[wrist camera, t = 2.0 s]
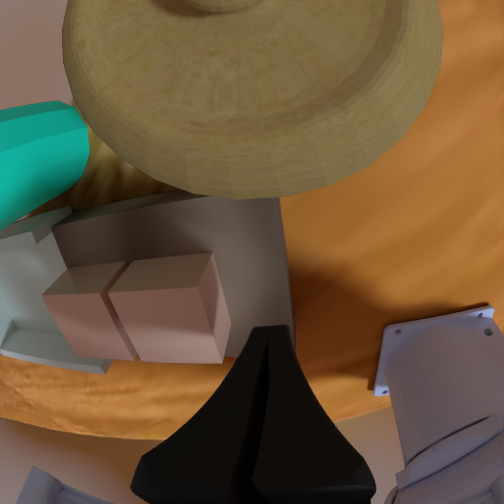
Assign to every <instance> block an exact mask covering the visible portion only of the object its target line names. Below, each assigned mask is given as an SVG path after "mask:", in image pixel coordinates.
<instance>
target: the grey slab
mask: <svg viewBox="0 0 504 504" xmlns="http://www.w3.org/2000/svg"><path fill="white" fill-rule="evenodd" d="M51 230H52V233H53V235H54V238H55V240H56V243H57V246H58V248H59V251H60V253H61V255H62V258H63V260H64V263H65V265H66V267H67V269H68V268H72V267H81V266H90V265H99V264H108V263H117V262H126V264H127V267H128V266H129V265H130V264H131V263H132V261H135V260H144V259H153V258H162V257H171V256H181V255H190V254H199V253H208V252H213V255H214V259H215V263H216V267H217V271H218V274H219V278H220V282H221V286H222V290H223V294H224V298H225V302H226V305H227V309H228V313H229V317H230V320H231V328H230V332H229V336H228V341H227V345H226V350H225V354H224V357H238V356H239V355H240V353H241V351H242V349H243V347H244V345H245V343H246V341H247V339H248V337H249V335H250V333H251V330H252V329H253V328H254V327H259V326H273V325H285V324H286V325H288V326H289V327H290V336H291V342H292V345H293V349H294V352H295V354H296V335H295V320H294V311H293V302H292V293H291V285H290V276H289V268H288V260H287V252H286V244H285V237H284V229H283V222H282V214H281V207H280V200H279V197H274V198H256V199H240V200H236V199H229V198H222V197H215V196H208V195H200V194H193V193H190V192H188V191H185V190H182V189H178V190H173V191H168V192H162V193H157V194H152V195H147V196H142V197H137V198H133V199H128V200H123V201H119V202H114V203H110V204H105V205H101V206H97V207H93V208H88V209H84V210H80V211H76V212H72V213H71V214H69V215H68V216H66V217H65V218H63V219H62V220H61V221H59V222H58V223H56V224H55V225H53V226H52V227H51ZM137 356H139V355H138V354H137Z"/></svg>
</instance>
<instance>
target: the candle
mask: <svg viewBox="0 0 504 504" xmlns="http://www.w3.org/2000/svg"><path fill="white" fill-rule="evenodd" d="M89 153H90V150H89V142H88V133H87V126H86V125H85V123H84V122H83V120H82V118H81V117H80V115H79V113H78V112H77V110H76V108H75V107H72V106H70V105H68V104H65V103H63V102H61V101H51V102H43V103H36V104H30V105H24V106H19V107H13V108H8V109H4V110H0V231H2V230H3V229H5V228H6V227H8V226H9V225H11V224H12V223H14V222H15V221H17V220H18V219H20V218H22V217H23V216H25V215H26V214H28V213H30V212H31V211H33V210H34V209H36V208H38V207H39V206H41V205H43V204H44V203H46V202H48V201H50V200H51V199H53V198H55V197H57V196H58V195H60V194H62V193H64V192H66V191H67V190H69V189H70V188H71V187H72V186H73V185H74V184H75V183H76V182H77V181H78V180H79V179H80V178H81V177H82V176H83V174H84V171H85V167H86V164H87V160H88V157H89Z"/></svg>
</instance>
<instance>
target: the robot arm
mask: <svg viewBox="0 0 504 504" xmlns="http://www.w3.org/2000/svg"><path fill="white" fill-rule="evenodd" d="M493 314H494V308H493V306H491V305H489V306H485V307H480V308H476V309H471V310H467V311H462V312H458V313H453V314H448V315H443V316H438V317H432V318H427V319H421V320H416V321H410V322H404V323H397V324H391V325H388V326H387V327H386V328H385V329H384V331H383V338H382V345H381V351H380V357H379V363H378V369H377V374H376V379H375V384H374V389H373V393H374V396H383V395H390V399H391V403H392V407H393V412H394V416H395V420H396V425H397V429H398V434H399V439H400V444H401V449H402V454H403V460H404V465H405V469H404V470H402V471H400V472H398V473H396V474H395V475H396V480H397V481H396V482H397V486H396V487H394V488H393V489H392V490H391V491H390V493H389V494H388V496H387V498H386V500H385V503H384V504H504V335H503V334H502V332H501V331H500V329H499V328H498V326H497V325H496V323H495V322H494V320H493V319H492V316H493ZM398 329H400V330H398ZM396 330H398V331H396ZM130 488H131V490H132V492H133V493H134V494H135V495H137V496H138V497H140V498H141V499H143V500H145V501H146V502H148V503H149V504H371V501H370V500H371V498H372V497H373V496H374V494H375V493H376V484H375V480H374V478H373V475H372V473H371V471H370V469H369V467H368V465H367V463H366V461H365V459H364V458H363V457H362V456H361V455H360V454H359V453H358V452H357V451H356V449H355V448H353V446H352V445H351V444H350V443H349V442H348V441H347V439H346V438H345V437H344V436H343V435H342V434H341V432H340V431H339V430H338V429H337V427H336V426H335V425H334V423H333V422H332V420H331V419H330V418H329V416H328V415H327V414H326V412H325V411H324V409H323V408H322V406H321V405H320V403H319V402H318V400H317V398H316V396H315V395H314V393H313V391H312V390H311V388H310V386H309V384H308V382H307V380H306V378H305V376H304V374H303V372H302V369H301V367H300V365H299V362H298V360H297V357H296V355H295V352H294V349H293V345H292V342H291V336H290V327H289V326H288V325H286V324H285V325H273V326H259V327H254V328H253V329H252V330H251V333H250V335H249V337H248V339H247V341H246V343H245V345H244V347H243V349H242V351H241V353H240V355H239V356H238V358H237V360H236V361H235V363H234V365H233V367H232V368H231V370H230V371H229V373H228V374H227V376H226V377H225V379H224V380H223V381H222V383H221V384H220V386H219V387H218V388H217V390H216V391H215V392H214V394H213V395H212V396H211V397H210V398H209V400H208V401H207V402H206V403H205V404H204V405H203V406H202V407H201V408H200V410H199V411H198V412H197V413H196V414H195V415H194V416H193V417H192V418H191V419H190V420H189V421H188V422H186V423H185V424H184V425H183V426H182V427H181V428H180V429H178V430H177V431H176V432H175V433H174V434H172V435H171V436H170V437H169V438H167V439H166V440H165V441H163V442H162V443H161V444H159V445H158V446H157V447H155V448H153V449H152V450H150V451H149V452H147V453H146V454H144V455H142V457H141V459H140V461H139V463H138V465H137V468H136V470H135V474H134V477H133V480H132V483H131V486H130ZM16 504H113V503H110V502H107V501H104V500H102V499H99V498H96V497H94V496H91V495H88V494H86V493H83V492H81V491H79V490H76V489H74V488H71V487H69V486H67V485H65V484H62V482H61V481H59V480H58V479H56V478H55V477H53V476H52V475H50V474H48V473H46V472H44V471H42V470H40V469H38V468H36V467H34V466H32V468H31V470H30V472H29V474H28V477H27V479H26V481H25V483H24V485H23V488H22V490H21V493H20V495H19V497H18V500H17V502H16Z"/></svg>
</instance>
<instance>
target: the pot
mask: <svg viewBox="0 0 504 504" xmlns="http://www.w3.org/2000/svg"><path fill="white" fill-rule="evenodd" d="M442 45H443V26H442V20H441V15H440V9H439V4H438V0H68V3H67V7H66V12H65V17H64V22H63V28H62V46H63V64H64V67H65V71H66V75H67V78H68V82H69V85H70V88H71V92H72V95H73V98H74V100H75V102H76V104H77V105H78V107H79V109H80V110H81V112H82V114H83V115H84V117H85V119H86V120H87V122H88V123H89V125H90V127H91V128H92V130H93V131H94V132H95V133H96V134H97V135H98V136H99V137H100V138H101V139H102V140H103V141H104V142H105V143H106V144H107V145H108V146H109V147H110V148H111V149H112V150H113V151H114V152H115V153H116V154H117V155H118V156H119V157H120V158H121V159H123V160H124V161H126V162H127V163H129V164H131V165H132V166H134V167H135V168H137V169H139V170H140V171H142V172H143V173H145V174H147V175H148V176H150V177H151V178H153V179H155V180H158V181H160V182H163V183H166V184H169V185H171V186H174V187H177V188H180V189H182V190H185V191H188V192H190V193H193V194H200V195H208V196H215V197H222V198H229V199H236V200H240V199H256V198H274V197H285V196H289V195H293V194H297V193H300V192H304V191H308V190H312V189H316V188H320V187H324V186H328V185H330V184H332V183H334V182H336V181H338V180H340V179H342V178H344V177H346V176H348V175H351V174H353V173H355V172H357V171H359V170H361V169H363V168H365V167H367V166H369V165H370V164H371V163H372V162H373V161H375V160H376V159H377V158H378V157H380V156H381V155H382V154H383V153H384V152H386V151H387V150H388V149H389V148H391V147H392V146H393V145H394V144H396V143H397V142H398V141H399V140H400V139H401V138H402V137H403V136H404V134H405V133H406V132H407V130H408V129H409V128H410V126H411V125H412V124H413V122H414V121H415V120H416V118H417V117H418V116H419V114H420V113H421V112H422V110H423V109H424V108H425V106H426V103H427V101H428V99H429V96H430V94H431V91H432V89H433V86H434V84H435V81H436V79H437V76H438V74H439V71H440V63H441V55H442Z"/></svg>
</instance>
